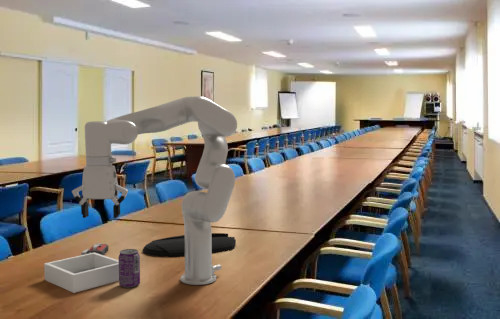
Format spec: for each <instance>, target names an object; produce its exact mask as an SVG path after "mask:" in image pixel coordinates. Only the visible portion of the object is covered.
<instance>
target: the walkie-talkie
mask: <svg viewBox="0 0 500 319" xmlns="http://www.w3.org/2000/svg"><path fill="white" fill-rule="evenodd" d="M108 251H109V244H107V243H100V242H99V243H96V244H93V245H92V246H91V247H90V248H86V249H84V250H83V251H81V255H85V254H90V253H94V252H95V253H98V254H101V255H104V256H106V255H105V254H107V252H108ZM81 255H80V256H81Z"/></svg>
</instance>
